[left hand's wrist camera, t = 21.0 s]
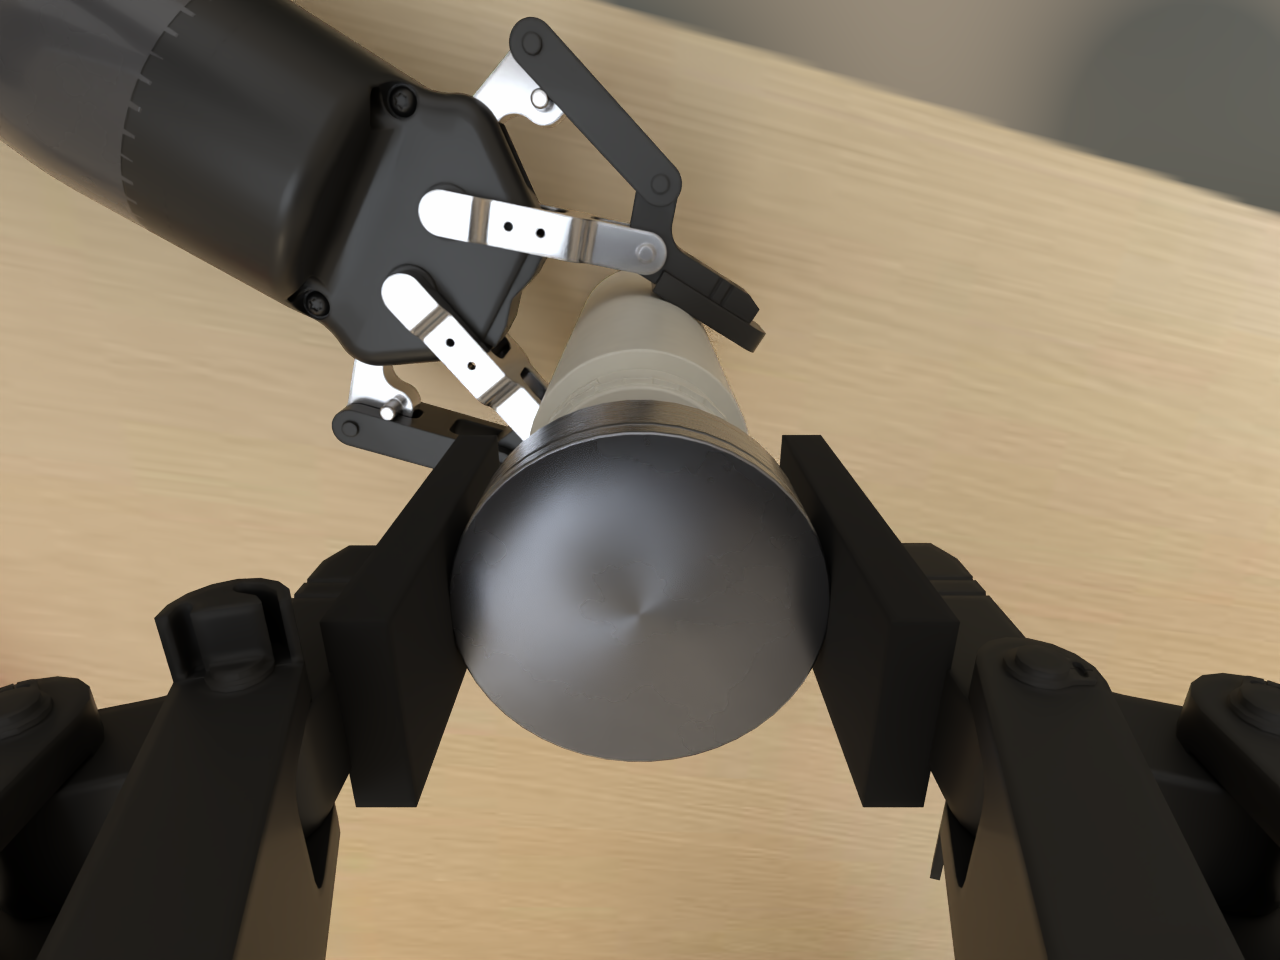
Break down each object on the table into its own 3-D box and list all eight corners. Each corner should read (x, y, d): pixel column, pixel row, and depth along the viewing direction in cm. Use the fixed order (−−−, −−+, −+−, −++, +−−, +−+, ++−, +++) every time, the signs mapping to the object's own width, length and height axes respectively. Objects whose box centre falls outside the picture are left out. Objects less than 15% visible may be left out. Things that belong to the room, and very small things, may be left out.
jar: (720, 305, 29) (808, 441, 14) (661, 406, 30) (682, 624, 15) (615, 244, 28) (587, 317, 13) (559, 351, 29) (477, 527, 14)
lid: (877, 518, 12) (912, 567, 10) (680, 742, 13) (686, 813, 12) (587, 326, 11) (578, 349, 9) (413, 599, 12) (381, 657, 11)
